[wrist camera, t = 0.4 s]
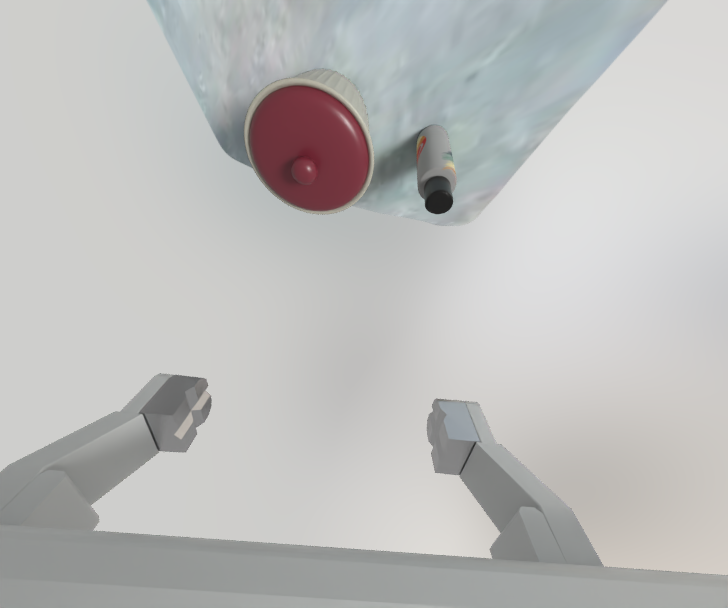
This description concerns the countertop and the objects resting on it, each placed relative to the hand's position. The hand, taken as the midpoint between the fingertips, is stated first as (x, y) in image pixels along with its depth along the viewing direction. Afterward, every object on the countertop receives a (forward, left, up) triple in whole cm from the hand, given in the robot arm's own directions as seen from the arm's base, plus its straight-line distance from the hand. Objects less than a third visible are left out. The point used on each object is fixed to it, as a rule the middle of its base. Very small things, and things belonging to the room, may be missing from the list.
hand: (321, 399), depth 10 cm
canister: (+4, -12, -52) cm, 54 cm away
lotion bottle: (+14, +4, -52) cm, 54 cm away
